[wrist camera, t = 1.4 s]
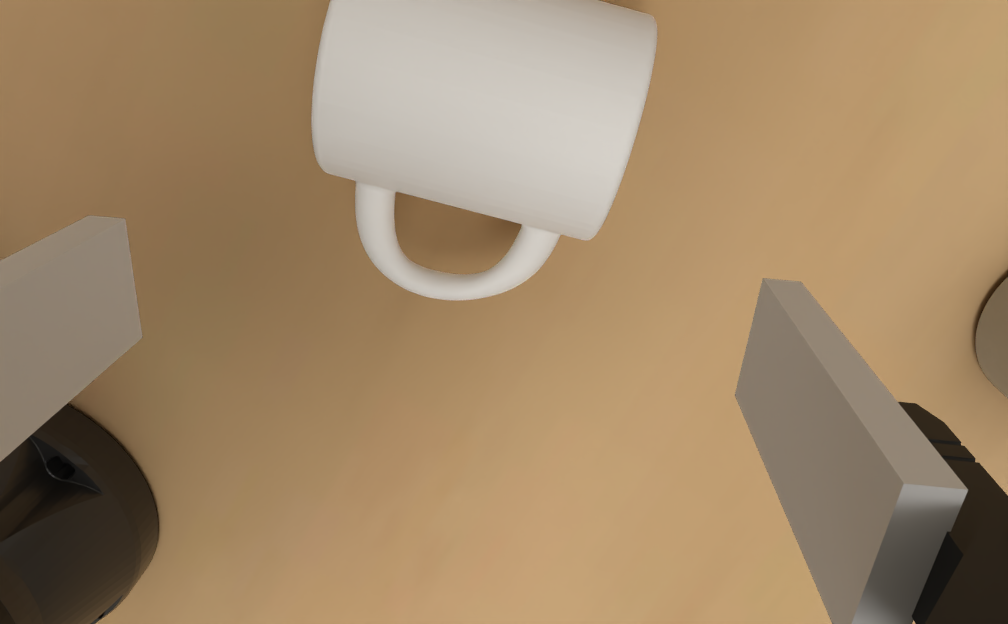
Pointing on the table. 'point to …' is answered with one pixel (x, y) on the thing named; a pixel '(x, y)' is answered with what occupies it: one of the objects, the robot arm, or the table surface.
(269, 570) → the table surface
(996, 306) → the travel mug
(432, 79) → the mug
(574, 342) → the table surface
